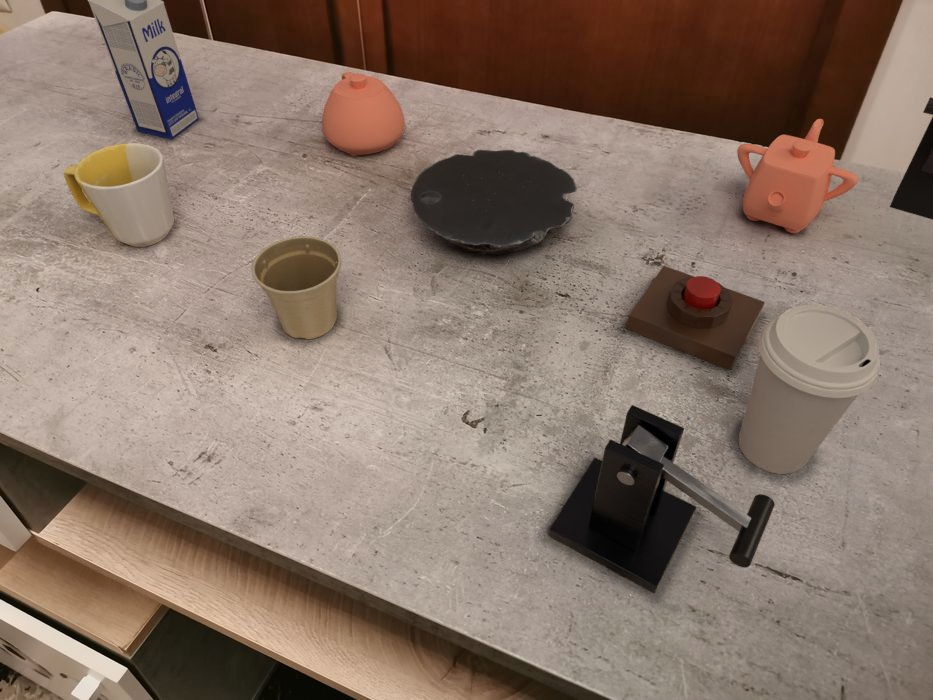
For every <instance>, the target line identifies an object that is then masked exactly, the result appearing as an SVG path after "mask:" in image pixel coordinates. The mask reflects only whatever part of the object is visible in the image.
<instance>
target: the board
mask: <svg viewBox="0 0 933 700" xmlns="http://www.w3.org/2000/svg"><path fill="white" fill-rule="evenodd" d="M577 191H578V186H577V184H576V180H575V178H574V177H573V176H572V175H571V173H569V172H568V171H565V170H564V169H563V168H559V167H558V166H556V165H555V164H554V163H552V162H551V161H550V160H546V159H543V158H541V157H539V156H536V155H530V153H528V152H525V151H515V150H514V149H501V150H491V149H476V150H475V151H473V153H472V155H471V154H462V153H461V154H460V153H455V154H453V155H451V156H449V157H444V158H443V159H441V160H438V161H435V162H433V163H432V164H430V166H428V167H426V168H425V169H424V170H423V171H421V172H420V173H418V176H417V177H416V179H415V181H414V183H413V185H412V187H411V190H410V201H411V204H412V209H413V211H414V213H415V215H416V216H417V219H418V220H419V222H421V223H422V224H423V225H424V226H425V227H426V228H427V229H428V230H430V231H431V232H433V233H434V234H436V235H437V236H439V237H441V238H442V239H444V240H446V241H447V242H449V243H451V244H452V245H455V246H456V247H458V248H459V249H460V250H463V251H464V252H466V253H470V254H471V253H472V254H478V255H491V256H501V255H503V254H504V255H505V254H506V253H511V252H517V251H523V250H526V249H529V248H531V247H534V245H538V244H539V243H540V242H542V241H544V240H545V237H546V236H547V233H548V232H549V231H551V230H556V229H561V228H563V227H564V226H566V225H567V224H568V223H570V222H571V221H572V220H573V218H574V214H573V212H574V209H575V203H573V202H571V201H569V200H567V199H566V198H565V197H564V196H565V195H568V194H569V195H570V194H572V193H573V194H574V193H576V192H577Z"/></svg>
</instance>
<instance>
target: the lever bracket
mask: <svg viewBox="0 0 933 700" xmlns="http://www.w3.org/2000/svg"><path fill="white" fill-rule="evenodd" d="M638 425H640V426H641V427H643V428H644V429H645V430H647V431H648V432H650V433H651V434H653V435H654V436H655V437H657V438H658V439H660V440H661V441H663V442H664V443H665V444H667V445H668V446H669V447H668V449H667V450H666V452H665V454H664V457H666V458H667V459H669V460H670V461H671V462H673V463H675V459H676V456H677V453H678V449H679V447H680V444H681V441H682V437H683V434H684V432H685V428H684V427H683V426H680V424H677V423H674V422H672V421H670V420H667V419H665V418H664V417H663V418H662V417H661V416H658V415H656V414H653V413H651V412H650V411H648V410H645V409H643V408H641V407H638V406H636V405H633V404H632V405H631V406H630V407H629V409H628V410H627V411H626V416H625V419H624V425H623V429H622V433H621V436H620V442H617V441H616V440H613V439H609V440H608V442H607V443H606V445H605V447H604V451H603V456H602V459H599V458H597V457H593V459H592V460H591V463H590V464H589V465H588V467H587V468H586V470H585V471H584V473H583V475H582V476H581V478H580V479H579V481H578V483H577V484H576V486H575V487H574V489H573V491H572V492H571V494H570V495H569V497H568V499H567V500H566V502H565V503H564V505H563V506H562V508H561V509H560V511H559V513H558V514H557V516H556V517H555V518H554V521H553V522H552V524H551V525H550V526H549V528H548V537H550V538H552V539H554V540H555V541H557V542H559V543H561V544H562V545H564V546H566V547H568V548H570V549H572V550H573V551H575V552H578V553H579V554H581V555H583V556H585V557H586V558H588V559H590V560H592V561H594V562H596V563H598V564H599V565H601V566H603V567H605V568H606V569H609V570H611V571H612V572H614V573H616V574H618V575H619V576H621V577H622V578H625V579H627V580H629V581H630V582H632V583H634V584H636V585H637V586H639V587H642V589H645V590H647V591H649V592H651V593H652V594H656V592H657V590H658V589H659V586H660V584H661V582H662V580H663V578H664V577H665V574H666V572H667V570H668V568H669V565H670V564H671V561H672V559H673V557H674V556H675V554H676V552H677V549H678V547H679V545H680V543H681V541H682V539H683V538H684V535H685V533H686V531H687V529H688V527H689V524H690V523H691V521H692V519H693V517H694V515H695V512H696V510H697V506H696V505H693V503H690V502H688V501H686V500H684V499H682V498H679V497H678V496H675V495H674V494H672V493H669V492H667V491H665V489H666V486H667V483H668V481H667V480H665V479H664V478H662V477H661V474H662V471H663V468H664V464H662V463H660V462H658V461H656V460H654V459H651V458H649V457H647V456H645V455H643V454H641V453H639V452H637V451H634V450H632V449H630V448H628V447H626V446H624V445H622V444H623V442H624V441H625V439H626V438H627V437H628V436H629V435H630V433H631V432H632V431H633V430H634V429H635V428H636V427H637V426H638Z"/></svg>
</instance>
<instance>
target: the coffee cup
mask: <svg viewBox="0 0 933 700" xmlns="http://www.w3.org/2000/svg"><path fill="white" fill-rule="evenodd" d="M758 350H759V354H760V356H759V359H758V363H757V366H756V371H755V375H754V378H753V382H752V386H751V390H750V394H749V397H748V401H747V404H746V407H745V412H744V416H743V419H742V423H741V426H740V430H739V434H738V445H739V449H740V450H741V452H742V454H743V455H744V457H745V458H746V460H748V461H749V462H750V463H751V464H753V465H754V466H755V467H757V468H759V469H761V470H763V471H765V472H769V473H772V474H777V475H788V474H789V475H790V474H793V473H797V472H798V471H800V470H802V469H803V468H804V467H805V466H806V465H807V464H808V462H809V461H810V459H811V458H812V456H813V455H814V454H815V452H816V451H817V450H818V449H819V447H820V446H821V445H822V444H823V442H824V441H825V439H826V438H827V437H828V435H829V434H830V433H831V431H832V430H833V429H834V428H835V426H836V425H837V424H838V422H839V421H840V419H841V418H842V417H843V416H844V414H845V413H846V412H847V411H848V409H849V408H850V407H851V405H852V404H853V402H854V401H855V400H856V399H857V398H858V397H859V395H861V394H864V393H865V392H867V391H869V390H870V389H871V388H872V387H874V385H875V383H876V382H877V381H878V379H879V376H880V369H881V356H880V352H879V344H878V340H877V339H876V336H875V335H874V332H873V331H872V330H871V329H870V327H868V326H867V325H866V324H865V323H864V322H863V321H862V320H861V319H859V318H857V317H856V316H854V315H852V314H850V313H849V312H846V311H844V310H842V309H839V308H836V307H833V306H829V305H823V304H814V303H810V304H808V303H807V304H799V305H796V306H792V307H790V308H787V309H786V310H784V312H783V313H781V314H779V315H777V316H776V317H774V318H773V319H772V320H770V322H768V323H767V324H766V326H765V327H764V328H763V329H762V331H761V333H760V334H759V337H758Z"/></svg>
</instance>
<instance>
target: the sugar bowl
mask: <svg viewBox="0 0 933 700" xmlns="http://www.w3.org/2000/svg"><path fill="white" fill-rule="evenodd" d="M321 126H322V133H323V136H324V138H325V139H326V140H327V141H328V142H329V143H330V144H331V145H333V147H335V148H336V149H338V150H339V151H342V152H343V153H344V152H345V153H348V155H350V156H352V157H357V156H360V155H370V154H371V155H372V154H375V153H379V152H382V151H385V150H387V149H391V148H392V147H393V146H394V145H395V144H396V143H397V141H398V140H399V139H400V138H401V136H402V135H403V134H404V131H405V128H406V121H405V116H404V113H403V109H402V107H401V105H400V103H399V101H398V99H397V98H396V96H395V95H394V94H393V92H392V91H391V90H390V89H389V87H388V86H387V85H386V84H385V83H384V82H383V81H382V80H381V79H379V78H377V77H375V76H370V75H366V74H364V73H353V72H352V71H345V72H344V73H342V74H341V80H339V81H338V82H336V83H335V85H334V86H333V88H332V90H331V91H330V93H329V96H328V97H327V99H326V102H325V105H324V108H323V111H322V119H321Z"/></svg>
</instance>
